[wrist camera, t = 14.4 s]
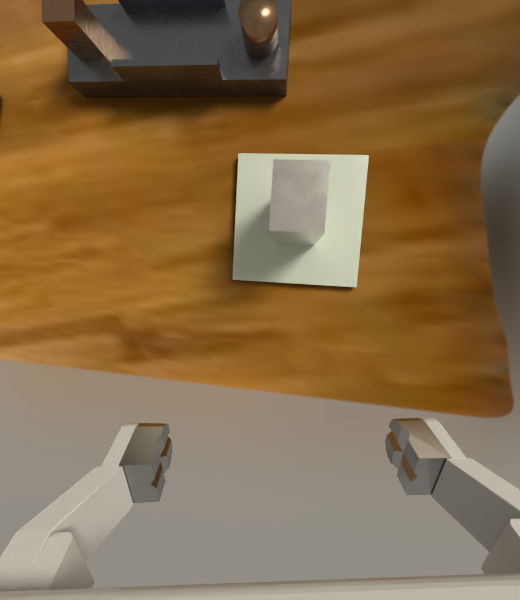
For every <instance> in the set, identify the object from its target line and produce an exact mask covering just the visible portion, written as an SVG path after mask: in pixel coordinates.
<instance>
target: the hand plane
mask: <svg viewBox="0 0 520 600" xmlns="http://www.w3.org/2000/svg"><path fill="white" fill-rule="evenodd" d="M118 1H119V2H120V4H100V5H86V4H85V3H84V2H83V0H42V22H43V23H44V24H45V25H46V26H47V27H48V28H49V29H50V30H51V31H52V32H53V33H54V34H55V35H56V36H57V37H58V38H59V39H60V40H61V41H62V42H63V43H64V44H65V45H66V46H67V47H68V82H69V83H70V84H71V85H72V86H74V87H75V88H76V89H77V90H78V91H79V92H81V93H82V94H83V95H84V96H85V97H175V96H286V92H287V76H288V61H289V45H290V29H291V0H118Z"/></svg>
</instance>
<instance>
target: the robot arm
mask: <svg viewBox="0 0 520 600" xmlns="http://www.w3.org/2000/svg"><path fill="white" fill-rule="evenodd" d="M389 427H390V429H391V432H390V433H389V434H388V435H387V437H386V441H385V444H386V451H387V455H388V457H389V460H390V462H391V463H392V464H393V465H394V466H395V467H396V468H398V473H397V476H398V478H399V480H400V482H401V484H402V486H403V489H404V491H405V492H406V494H407V495H432V497H433V498H434V499H435V500H436V501H437V502H438V503H439V504H440V505H441V506H442V507H443V508H444V509H445V510H446V511H447V512H448V513H449V514H450V515H451V516H453V518H454V519H456V520H457V521H458V522H459V523H460V524H461V525H462V526H463V527H464V528H465V529H466V530H467V531H468V532H469V533H470V534H471V535H472V536H473V537H474V538H475V539H476V540H477V541H478V542H480V543H481V544H482V545H483V546H484V547H485V548H486V549H487V550H488V551H489V554H488V556H487V557H486V559H485V560H484V562H483V564H482V568H481V569H482V570H483V572H484V574H480V575H479V574H478V575H451V576H421V577H396V578H395V577H393V578H364V579H337V580H310V581H281V582H280V581H279V582H255V583H254V582H251V583H223V584H197V585H196V584H195V585H167V586H140V587H112V588H92V587H93V584H94V580H93V577H92V575H91V573H90V571H89V569H88V567H87V565H86V563H85V562H86V561H87V560H88V559H89V557H90V556H91V555H92V554H93V553H94V551H95V550H96V549H97V548H98V547H99V545H100V544H101V543H102V542H103V540H104V539H105V538H106V537H107V536H108V534H109V533H110V532H111V531H112V530H113V529H114V527H115V526H116V525H117V524H118V522H119V521H120V520H121V519H122V518H123V517H124V515H125V514H126V513H127V512H128V511H129V509H130V508H131V507H132V506H133V503H140V502H156V501H160V498H161V494H162V491H163V487H164V483H165V478H164V473H165V472H166V471H167V469H168V468H169V465H170V462H171V455H172V442H171V439H170V438H169V437H168V434H169V425H168V424H159V423H158V424H156V423H154V424H153V423H151V424H150V423H138V424H136V423H135V424H132V423H131V424H128V423H127V424H126V423H125V424H124V425H123V426H122V427H121V428H120V430H119V432H118V434H117V436H116V438H115V440H114V442H113V444H112V446H111V448H110V449H109V451H108V453H107V456H106V457H105V459H104V461H103V463H102V465H101V467H95V468H94V469H93V470H92V471H91V472H89V473H88V474H87V475H86V476H84V477H83V478H82V479H81V480H80V481H78V482H77V483H76V484H75V485H73V486H72V487H71V488H70V489H69V490H67V491H66V492H65V493H64V494H63V495H61V496H60V497H59V498H58V499H56V500H55V501H54V502H53V503H51V504H50V505H49V506H48V507H47V508H45V509H44V510H43V511H42V512H40V513H39V514H38V515H37V516H36V517H35V518H33V519H32V520H31V521H29V522H28V523H27V524H26V525H25V526H24V527H22V528H21V529H20V530H18V531H17V533H16V534H15V536H14V537H13V539H12V540H11V542H10V543H9V545H8V546H7V548H6V549H5V551H4V552H3V554H2V555H1V557H0V600H520V490H518V489H517V488H516V487H514V486H513V485H511V484H509V483H508V482H507V481H505V480H503V479H502V478H500V477H499V476H497V475H495V474H494V473H493V472H491V471H490V470H488V469H486V468H485V467H484V466H482V465H480V464H479V463H477V462H476V461H474V460H473V459H471V458H466V457H465V455H464V454H463V453H462V451H461V450H460V449H459V448H458V446H457V445H456V444H455V442H454V441H453V440H452V438H451V437H450V436H449V434H448V433H447V432H446V430H445V429H444V428H443V427H442V425H441V424H440V423H439V421H438V420H437V419H435V418H420V419H419V418H407V419H392V421H391V422H390V425H389Z"/></svg>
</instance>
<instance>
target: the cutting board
mask: <svg viewBox="0 0 520 600" xmlns="http://www.w3.org/2000/svg"><path fill="white" fill-rule="evenodd" d="M368 158H369V155H316V154H247V153H238V174H237V195H236V216H235V237H234V258H233V279H232V280H246V281H263V282H279V283H295V284H311V285H327V286H343V287H357V277H358V266H359V255H360V244H361V233H362V223H363V212H364V201H365V190H366V179H367V169H368ZM273 159H288V160H330V173H329V185H328V197H327V210H326V222H325V233H324V234H323V236H322V237H321V238H320V239H319V240H318V242H317V243H316V244H315V245H297V244H277V243H275V241H274V239H273V237H272V236H271V234H270V232H269V222H270V205H271V189H272V173H273Z"/></svg>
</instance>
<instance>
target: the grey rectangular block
mask: <svg viewBox="0 0 520 600" xmlns="http://www.w3.org/2000/svg"><path fill="white" fill-rule="evenodd" d="M329 173H330V160H288V159H273V173H272V189H271V205H270V222H269V232H270V234H271V236H272V237H273V239H274V241H275V243H277V244H297V245H315V244H316V243H317V242H318V240H319V239H320V238H321V237H322V236H323V234H324V233H325V222H326V210H327V197H328V185H329Z"/></svg>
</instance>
